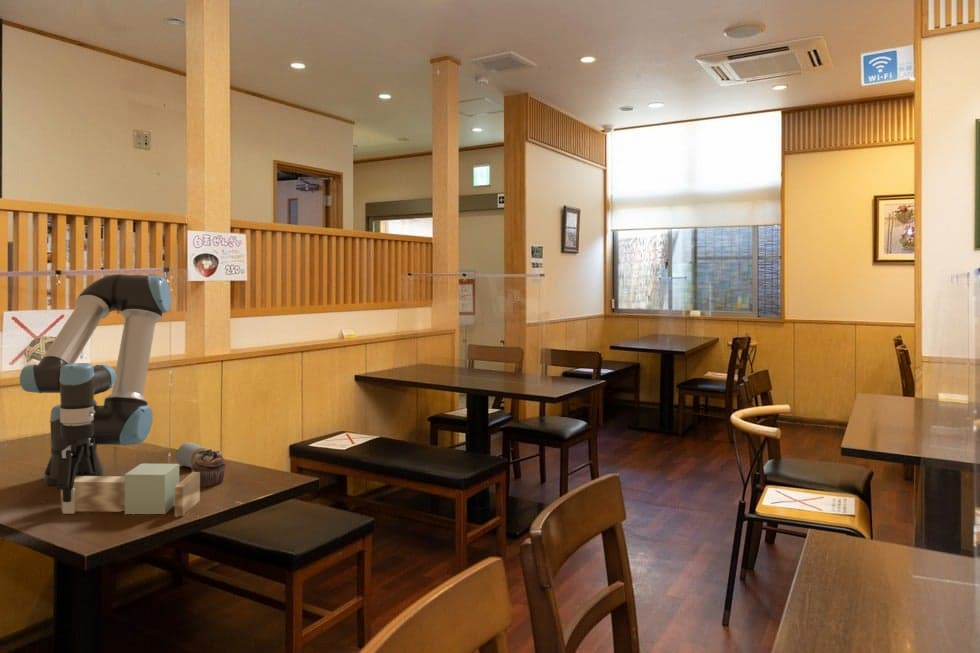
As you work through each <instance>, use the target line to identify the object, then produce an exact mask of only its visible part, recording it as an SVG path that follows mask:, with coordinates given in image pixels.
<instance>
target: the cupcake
mask: <svg viewBox="0 0 980 653" xmlns="http://www.w3.org/2000/svg"><path fill="white" fill-rule="evenodd" d="M204 452H206V454H205V453H204ZM196 458H197V459H196V460H195V464H194V465H193V467H192V468H191V473H192V472H200V487H201V486H211V487H215V485H216V486H218V485H221V484H222V483H223V482H224V478H225V472H226V468H227V466H226V462H225V458H224V457H223V452H221V451H219V450H217V451H215V450H213V449H207V451H201V452H199V453H198V454H197V455H196Z"/></svg>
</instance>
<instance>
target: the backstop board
mask: <svg viewBox="0 0 980 653" xmlns="http://www.w3.org/2000/svg"><path fill="white" fill-rule="evenodd" d="M200 500H201V486H200V472H192V471H191V472H190V473H189V474H188V475H187V476H186V477H184V479H183V480H181V481H179V484H178V485H177V486H175V506H174V517H175V516H183V515H184V514H185V513H186V512H187V511H188V510H189V509H190V508H191V509H193V507H195V506H196V504H198V503H199V502H200ZM191 509H190V510H191ZM190 510H189V511H190ZM189 511H188V512H189ZM188 512H187V513H188ZM187 513H186V514H187ZM186 514H185V515H186ZM185 515H184V516H185ZM184 516H183V517H184Z"/></svg>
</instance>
